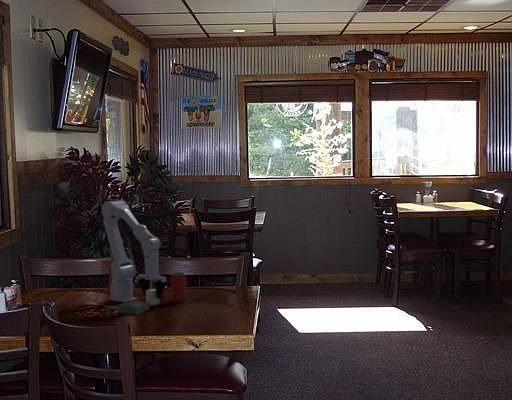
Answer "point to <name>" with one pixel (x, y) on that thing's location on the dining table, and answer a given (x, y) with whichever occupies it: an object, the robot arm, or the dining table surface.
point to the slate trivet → (134, 307)
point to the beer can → (178, 287)
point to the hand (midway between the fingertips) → (152, 297)
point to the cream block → (152, 297)
